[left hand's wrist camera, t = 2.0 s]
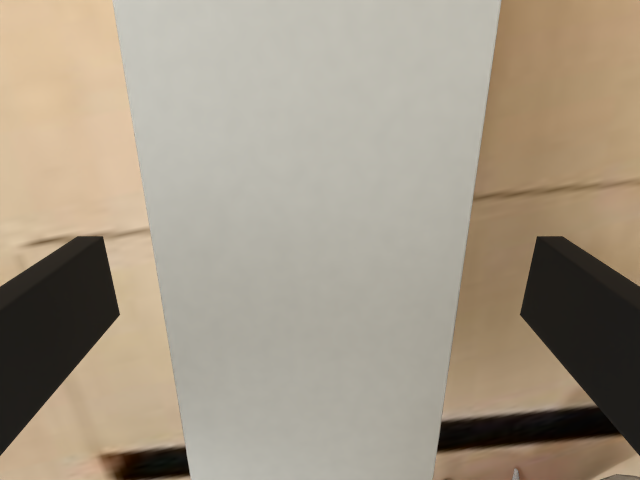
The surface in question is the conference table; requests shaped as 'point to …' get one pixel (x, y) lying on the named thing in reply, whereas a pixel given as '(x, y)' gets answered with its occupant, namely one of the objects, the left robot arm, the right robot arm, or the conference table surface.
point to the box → (309, 221)
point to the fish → (613, 479)
